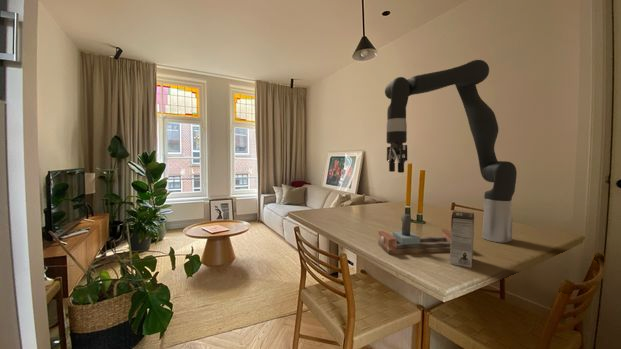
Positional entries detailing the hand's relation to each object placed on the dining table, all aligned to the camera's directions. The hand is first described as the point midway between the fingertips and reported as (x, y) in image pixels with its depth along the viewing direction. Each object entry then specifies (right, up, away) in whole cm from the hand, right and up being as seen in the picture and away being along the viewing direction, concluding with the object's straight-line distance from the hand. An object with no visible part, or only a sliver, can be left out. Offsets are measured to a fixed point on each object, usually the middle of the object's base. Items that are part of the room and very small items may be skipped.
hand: (396, 172), depth 98 cm
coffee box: (+17, -31, -15) cm, 38 cm away
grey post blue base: (+2, -26, -4) cm, 27 cm away
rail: (+8, -29, -3) cm, 31 cm away
